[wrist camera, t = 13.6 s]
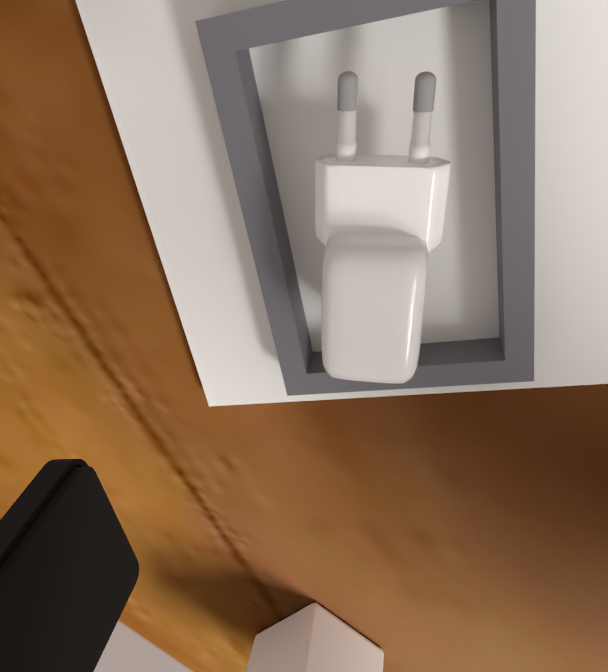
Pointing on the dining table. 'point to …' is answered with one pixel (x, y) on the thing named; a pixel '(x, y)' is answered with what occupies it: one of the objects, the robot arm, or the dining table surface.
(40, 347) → the dining table surface
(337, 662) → the medicine bottle
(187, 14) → the charging board
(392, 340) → the power adapter
